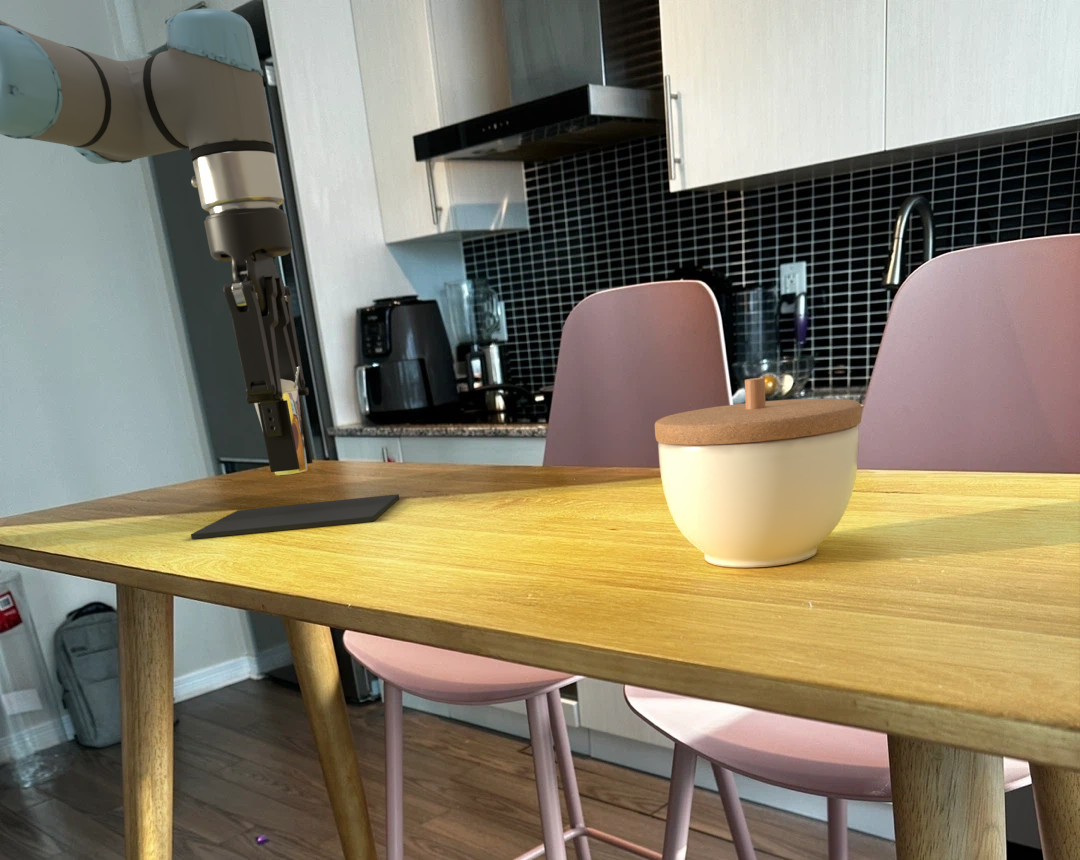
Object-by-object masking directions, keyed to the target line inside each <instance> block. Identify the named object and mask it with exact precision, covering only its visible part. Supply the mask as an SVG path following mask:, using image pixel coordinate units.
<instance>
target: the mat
mask: <svg viewBox="0 0 1080 860" xmlns="http://www.w3.org/2000/svg"><path fill="white" fill-rule="evenodd" d="M398 500H400V494H399V493H396V494H388V495H386V494H385V495H378V496H377V495H376V496H367V497H356V498H347V499H345V498H344V499H337V500H328V501H327V500H326V501H316V502H306V503H297V504H286V505H285V504H284V505H276V506H267V507H257V508H255V507H254V508H247V509H237V510H235V511H233V512H232V513H230V514H228V515H226V516H223V517H221V518H220V519H217V520H216V521H214V522H212V523H210V524H207V525H206V526H204V527H202V528H200V529H199V530H196V531H195V532H192V533H191V534H190V538H191V540H199V539H209V538H219V537H230V536H239V535H248V534H249V535H250V534H259V533H260V534H261V533H270V532H279V531H289V530H300V529H301V530H302V529H311V528H319V527H332V526H340V525H341V526H343V525H351V524H361V523H372V522H374V521H376V520H377V519H378V518H379V517H380V516H382V515H383V513H385V512H386V511H387V510H389V509H390V507H392V506H393V505H394V504H395V503H397V501H398Z"/></svg>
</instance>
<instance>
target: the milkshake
mask: <svg viewBox="0 0 1080 860" xmlns="http://www.w3.org/2000/svg"><path fill="white" fill-rule="evenodd" d="M299 368H300V366H298V367H297V372H296V378H295V383H294V382H293V381H290V380H284V379H280V380H281V388H282V393H283V398H282V400H279V401H284V400H287V403H288V408H289V413H290V419H291V424H292V429H293V435H294V440H295V446H296V451H297V456H298V462H299V467H300V469H298V470H289V471H279V472H274V475H275V476H278V477H288V476H293V475H294V476H295V475H300V474H302V473H306V472H307V471H308V469H309V468H308V464H307V460H306V452H305V445H304V437H303V429H302V422H301V412H300V402H299V397H300V396H299V392H298V386H297V380H298V374H299ZM253 405H254V407H255V411H256V413H257V417H258V420H259V423H260V428H261V430H262V432H263V429H262V424H261V419H260V414H259V409H258V403H253Z"/></svg>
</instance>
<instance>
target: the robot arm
mask: <svg viewBox="0 0 1080 860" xmlns="http://www.w3.org/2000/svg"><path fill="white" fill-rule="evenodd" d="M165 35H166V42H165V44H166V48H167V49H168V50H165V51H162V52H159V53H156V54H153V55H150V56H145V57H140V58H135V59H131V60H130V59H129V60H117V59H113V58H110V57H106V56H103V55H100V54H98V53H97V54H96V53H94V52H90V51H87V50H84V49H80V48H77V47H74V46H70V45H65V44H62V43H60V42H56V41H53V40H50V39H47V38H44V37H41V36H39V35H36V34H34V33H31V32H27V31H26V30H23V29H20V28H19V27H16V26H14V25H12V24H10V23H7V22H6V21H3V20H0V135H2V136H4V137H7V138H10V139H15V140H16V139H17V140H22V139H23V140H24V139H26V140H27V139H28V140H33V141H40V142H47V143H53V144H59V145H64V146H69V147H71V148H72V149H73V150H74V152H75V151H76V152H77V153H79V154H80V155H81V156H82V157H83V159H85V160H86V161H87V162H89V163H92V164H97V165H104V164H105V165H107V164H113V163H114V164H115V163H119V164H128V163H132V161H133V160H134V161H136V160H138V159H144V158H148V157H151V156H152V157H153V156H156V155H157V156H158V155H162V154H167V153H171V152H175V151H179V150H180V151H181V150H187V149H188V150H189V153H190V158H191V162H192V164H193V170H194V174H195V175H193V176H192V177H191V179H190V182H191V186H192V187H193V188H194V189H197V191H198V195H199V201H200V205H201V209H203V210H204V211H205V212H208V213H209V215H207V216H206V217H205V220H203V224H204V228H205V233H206V238H207V243H208V248H209V254H210V256H211V258H212V259H213V260H215V261H217V262H226V263H227V262H228V263H229V262H230V263H231V275H232V281H231V282H228V283H223V294H224V297H225V299H226V302H227V306H228V309H229V312H230V316H231V320H232V322H231V323H232V326H233V332H234V335H235V340H236V346H237V351H238V355H239V360H240V365H241V369H242V375H243V379H244V380H243V381H244V385H245V391H246V394H247V396H245V398H246V402H247V404H249V405H251V404H254V403H258V409H259V414H260V419H261V424H262V427H261V430H262V429H263V431H262V434H263V439H264V443H265V444H264V445H265V449H266V454H267V459H268V464H269V470H270V473H275V472H279V471H289V470H298V469H300V467H299V462H298V456H297V451H296V446H295V440H294V435H293V429H292V424H291V419H290V413H289V408H288V403H287V400H284V401H279V400H282V398H283V393H282V388H281V380H280V379H284V380H290V381H293V382H294V383H295V378H296V372H297V367H298V366H300V368H299V374H298V380H297V386H298V392H299V402H300V412H301V422H302V429H303V437H304V445H305V452H306V460H307V465H308V464H313V456H312V451H311V446H310V445H311V444H310V440H309V434H308V429H307V424H306V417H305V411H304V406H303V402H302V397H303V396H309V391H310V390H309V387H308V386H307V387H306V380H305V378H304V377H305V376H304V372H303V366H302V360H301V354H300V349H299V342H298V337H297V330H296V326H295V320H294V313H293V305H292V303H293V302H292V291H291V289H290V288H291V287H290V286H289V285H285V283H284V280H283V278H282V277H280V276H279V273H278V270H277V269H278V268H277V266H276V263H275V259H276V258H277V257H283V256H286V255H289V254H290V253H291V252H292V249H293V244H292V240H291V233H290V228H289V223H288V215H287V213H285V212H284V210H283V209H280V206H282V205H283V203H284V202H285V197H284V192H283V186H282V185H283V184H282V180H281V176H280V175H281V174H280V170H279V164H278V159H277V155H276V151H275V147H274V143H273V137H272V131H271V123H270V118H269V111H268V105H267V100H266V98H267V97H266V92H265V86H264V79H263V77H264V70H263V69H262V67H261V62H260V59H259V55H258V50H257V46H256V45H257V44H256V41H255V36H254V33H253V29H252V27H251V24H250V23H249V22H248V20H246V19H245V17H243V16H242V15H241V14H238V13H237V12H234V11H231V10H229V9H228V10H227V9H222V8H212V7H211V8H194V9H188V10H184V11H183V10H182V11H180V12H177V13H176V15H174V16H171V17H170V18H169V19H168V20H167V21H166V25H165ZM261 424H260V425H261Z"/></svg>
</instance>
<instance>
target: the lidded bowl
mask: <svg viewBox="0 0 1080 860" xmlns="http://www.w3.org/2000/svg"><path fill="white" fill-rule="evenodd" d="M744 395H745V396H744V397H745V401H744V403H735V404H727V405H720V406H719V405H718V406H712V407H707V408H700V409H694V410H688V411H683V412H678V413H674V414H670V415H666V416H663V417H661V418H659V419H658V420H656V421H655V422H654V436H655V440H656V442H657V447H658V448H657V449H658V461H659V462H658V463H659V472H660V478H661V479H660V480H661V484H662V489H663V494H664V497H665V501H666V505H667V508H668V511H669V513H670V515H671V517H672V519H673V522H674V524H675V525H676V527H677V529H678V530H679V531H680V533H681V534H682V536H684V538H685V539H686V540H687V541H688V542H689V543H690V544H691V545H693V546H694V547H695V548H696V549H698V550H699V551H700V552H702V553H703V554H704V561H705V562H707V563H709V564H711V565H714V566H719V567H727V568H744V569H745V568H765V567H776V566H783V565H791V564H795V563H799V562H802V561H806V560H808V559H810V558H812V557H814V556H815V555H816V554H817V553H818V546H819V545H821V543H823V542H824V541H825V540H826V539H827V538H828V537H829V536H830V535H831V533H832V532H833V531H834V530H835V529H836V527H838V525H839V523H840V522H841V520H842V518H843V516H844V514H845V513H846V511H847V510H848V509H847V508H848V507H849V504H850V502H851V499H852V497H853V492H854V488H855V484H856V480H857V472H858V465H859V451H860V450H859V448H860V424H861V422H862V404H861V403H860V402H859V401H857V400H854V399H849V398H795V399H779V400H777V399H776V400H766V379H765V377H755V378H747V379H744Z"/></svg>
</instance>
